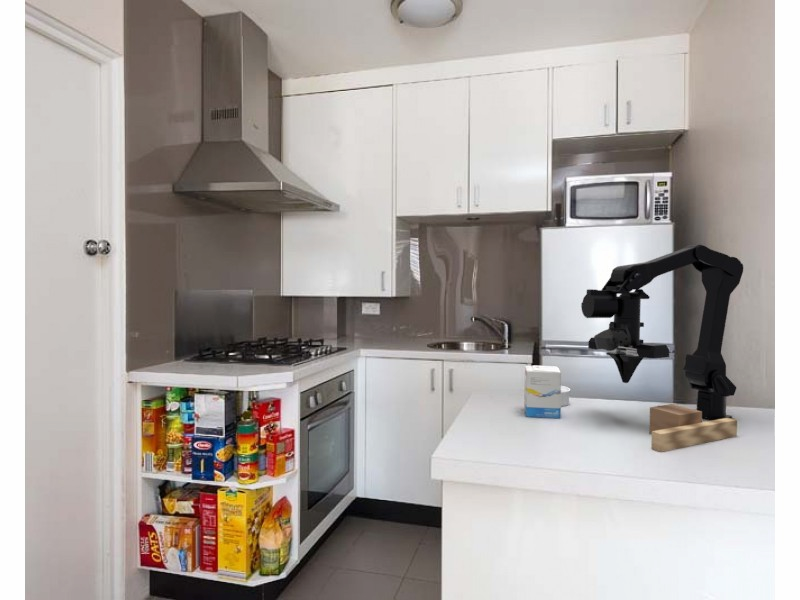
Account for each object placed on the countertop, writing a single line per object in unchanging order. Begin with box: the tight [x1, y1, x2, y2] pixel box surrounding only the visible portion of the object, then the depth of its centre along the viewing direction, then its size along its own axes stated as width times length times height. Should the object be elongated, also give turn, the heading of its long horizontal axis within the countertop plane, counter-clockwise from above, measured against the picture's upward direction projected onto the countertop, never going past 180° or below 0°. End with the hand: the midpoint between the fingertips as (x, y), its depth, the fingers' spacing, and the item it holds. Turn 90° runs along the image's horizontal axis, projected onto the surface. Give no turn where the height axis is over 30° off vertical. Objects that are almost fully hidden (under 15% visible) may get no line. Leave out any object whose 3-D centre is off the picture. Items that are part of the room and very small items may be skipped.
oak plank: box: [650, 418, 738, 453], centre depth 101 cm, size 24×2×4 cm, turn 114°
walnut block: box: [649, 403, 703, 435], centre depth 105 cm, size 7×7×6 cm
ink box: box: [523, 364, 562, 419], centre depth 123 cm, size 9×8×12 cm
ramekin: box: [561, 385, 571, 407], centre depth 134 cm, size 9×9×4 cm
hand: (625, 382), depth 116 cm, fingers closed
